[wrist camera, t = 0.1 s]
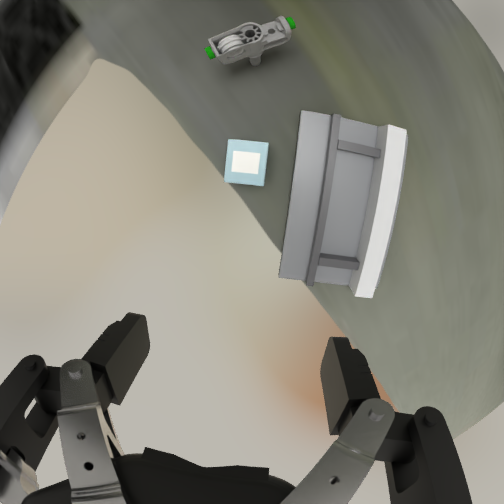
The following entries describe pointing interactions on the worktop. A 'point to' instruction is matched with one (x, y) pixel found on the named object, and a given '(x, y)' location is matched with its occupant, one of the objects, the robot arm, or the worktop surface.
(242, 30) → the mechanical component
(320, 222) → the rail mount
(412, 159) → the worktop surface
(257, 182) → the block
